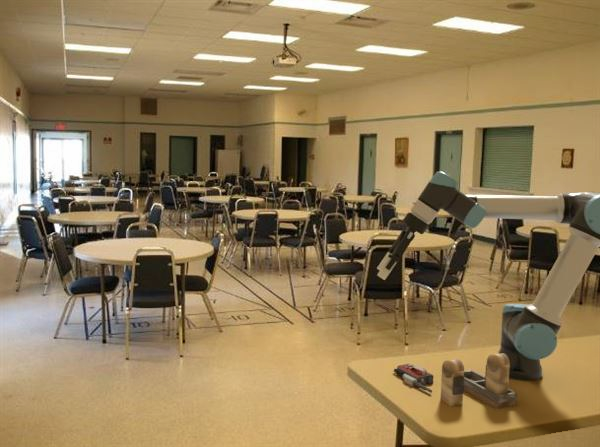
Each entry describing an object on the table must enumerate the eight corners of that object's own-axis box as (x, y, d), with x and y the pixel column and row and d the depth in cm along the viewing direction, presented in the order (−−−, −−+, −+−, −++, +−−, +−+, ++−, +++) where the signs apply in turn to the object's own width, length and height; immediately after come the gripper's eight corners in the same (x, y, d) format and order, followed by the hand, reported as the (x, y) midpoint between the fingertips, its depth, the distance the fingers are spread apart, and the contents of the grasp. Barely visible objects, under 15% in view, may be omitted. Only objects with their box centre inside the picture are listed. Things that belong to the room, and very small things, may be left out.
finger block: (451, 397, 180) (453, 356, 179) (464, 405, 175) (466, 363, 174) (440, 399, 179) (442, 358, 177) (452, 407, 174) (454, 364, 172)
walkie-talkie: (388, 375, 199) (428, 396, 182) (388, 361, 199) (429, 382, 181) (409, 370, 203) (450, 391, 186) (409, 358, 203) (451, 378, 185)
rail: (472, 380, 195) (474, 337, 193) (517, 404, 176) (520, 357, 175) (452, 383, 191) (454, 340, 190) (495, 408, 173) (498, 360, 172)
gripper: (406, 208, 199) (370, 261, 202) (411, 213, 175) (370, 273, 177) (426, 221, 199) (389, 274, 202) (433, 227, 174) (391, 288, 177)
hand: (380, 274), depth 190 cm, fingers open, 13 cm apart
